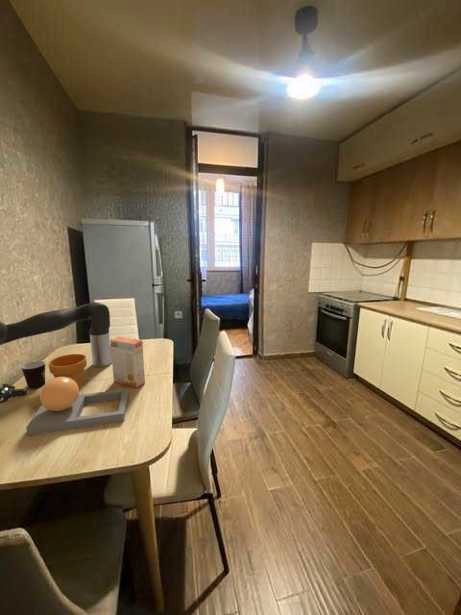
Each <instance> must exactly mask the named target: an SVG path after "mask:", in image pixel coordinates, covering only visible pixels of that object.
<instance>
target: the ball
mask: <svg viewBox="0 0 461 615" xmlns="http://www.w3.org/2000/svg"><path fill="white" fill-rule="evenodd" d="M78 395H80V388H79V387H78V385H77V383H76V382H75V381H74V380H73V379H71V378H68V377H57V378H52V379H51V380H49V381H48V382H45V385H44V386H42V389H41V391H40V394H39V399H40V403H41V406H42V405H43V406H44V407H45V408H46V409H48V410H50V411H63V410H66V409H68V408H69V407H71V406H72V405H73V404H74V403H75V402H76V400H77V398H78Z"/></svg>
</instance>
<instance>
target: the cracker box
mask: <svg viewBox="0 0 461 615" xmlns="http://www.w3.org/2000/svg"><path fill="white" fill-rule="evenodd" d="M110 345H111V354H112V363H111V364H112V375H113V382H114V383H117V384H120V385H124V386H127V387H132V388H135V389H137V388H139V387H140V386H142V385H144V384H145V383H146V382H145V381H146V379H145V377H146V376H145V363H144V362H145V361H144V351H143V350H144V348H143V347H144V343H143V340H140V339H136V338H135V339H134V338H130V337H123V336H117V337H115V338H110Z"/></svg>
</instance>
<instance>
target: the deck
mask: <svg viewBox="0 0 461 615" xmlns="http://www.w3.org/2000/svg"><path fill="white" fill-rule="evenodd" d="M128 399H129V390H128V388H123V389H114V390H107V391H101V392H92V393H91V392H90V393H83V394H79V395H78V398H77V400H76V402H75V403H74V404H73V405H72V406H71V407H69V408H68V409H66V410H63V411H50V410H48V409H46V408H45V407H44V406H43V405H42V404H41V406H40V407H39V408H38V410H37V411H36V413H35V414H34V416H33V417H32V419H31V420H30V421H29V423H28V424H27V426H26V427H25V428H26V433H27V436H33V435H39V434H47V433H52V432H59V431H65V430H72V429H78V428H87V427H91V426H98V425H106V424H113V423H118V422H119V423H120V422H124V421H125V417H126V411H127V404H128V401H129V400H128ZM113 400H120V401H119V405H118V410H116V411H109V412H104V413H95V414H88V415H81V414H82V412H83V410H84V408H85V405H86V404H90V403H91V404H92V403H98V402H104V401H105V402H106V401H113Z"/></svg>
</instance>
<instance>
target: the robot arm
mask: <svg viewBox="0 0 461 615" xmlns="http://www.w3.org/2000/svg"><path fill="white" fill-rule="evenodd" d="M109 309H110V308H109V307H108V306H107V305H106V304H104V303H100V302H97V301H96V302H95V301H94V302H89V303H85V304H82V305H78V306H76V307H70V308H63V309H62V308H61V309H55V310H52V311H51V310H50V311H45V312H41V313H38V314H35V315H32V316H30V317H27V318H24V319H22V320H20V321H18V322H13V323H9V324H8V323H7V324H5V322H3V321H1V320H0V346H1V345H4V344H8V343H10V342H14V341H17V340H19V339H20V340H21V339H23V338H29V337H33V336H38V335H42V334H46V333H52V332H55V331H60V330H63V329H64V328H66V327H69V326H70V325H73V324H74V323H77V322H82V321H89V320H91V327H90V328H89V331H88V332H89V341H90V350H91V359H92V366H94V367H95V368H101V367H102V368H103V367H107V366H109V365H111V364H112V354H111V342H110V340H111V338H110V326H111V315H110V310H109ZM27 395H28V388H27V387H26V388H17V389H16V387H15V385H12V384H9V383H3V384H2V386H1V387H0V405H1V404H4V403H6V402H7V403H8V402H9V400H11V399H14V398H20V397H26V396H27Z"/></svg>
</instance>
